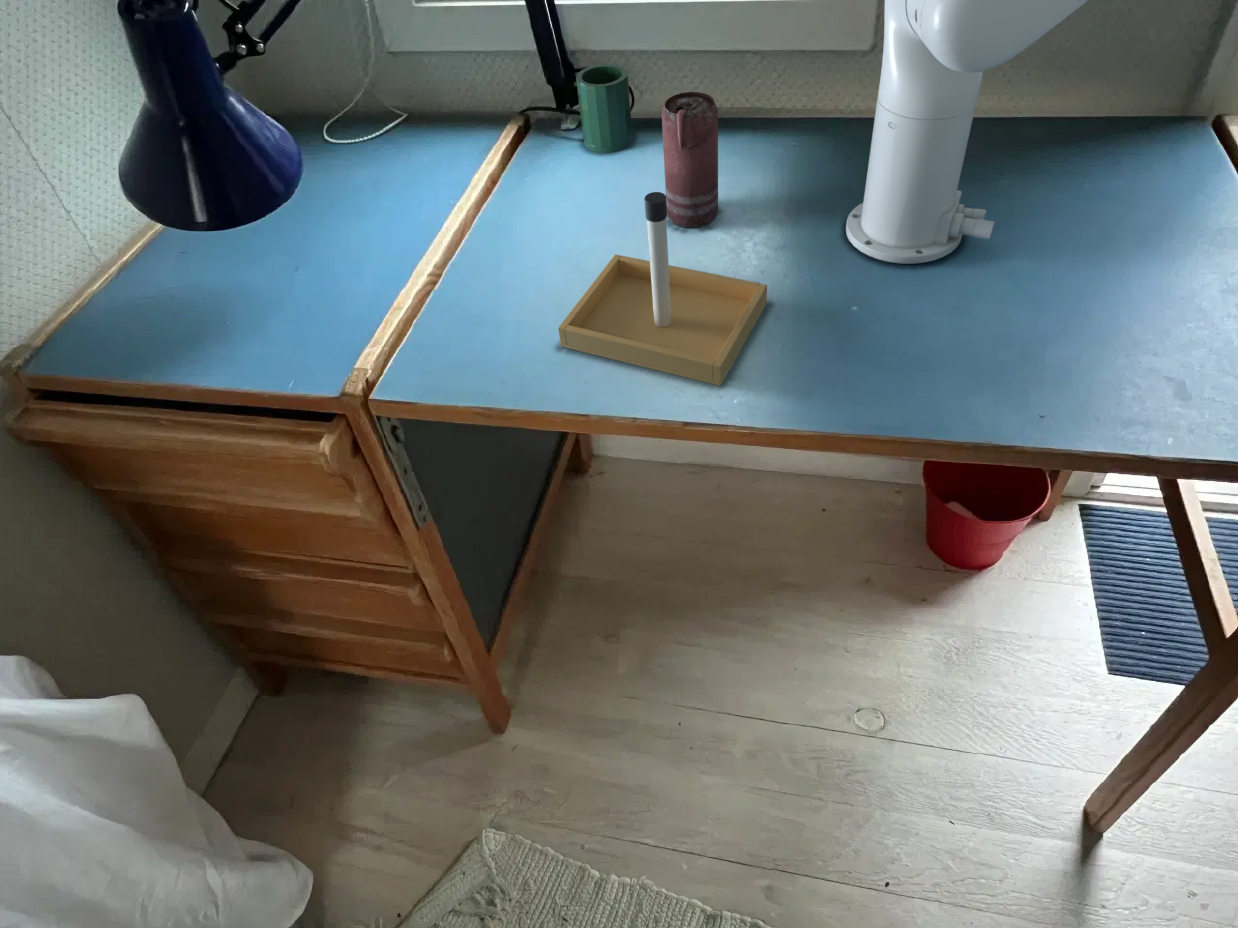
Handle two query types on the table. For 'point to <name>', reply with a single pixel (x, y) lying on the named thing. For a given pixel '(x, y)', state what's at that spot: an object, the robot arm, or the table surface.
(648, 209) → the marker
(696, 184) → the can
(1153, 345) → the table surface
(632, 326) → the tray
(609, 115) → the tumbler
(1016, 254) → the table surface
